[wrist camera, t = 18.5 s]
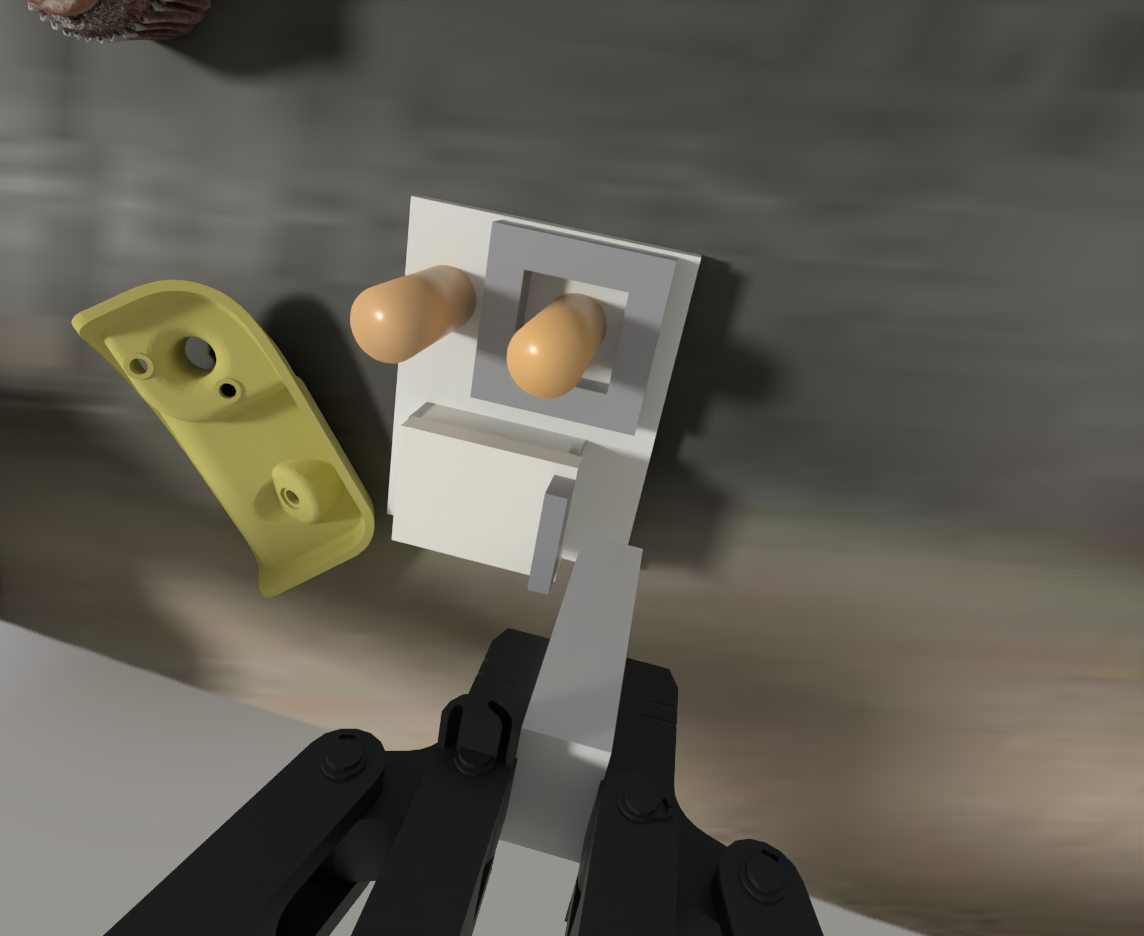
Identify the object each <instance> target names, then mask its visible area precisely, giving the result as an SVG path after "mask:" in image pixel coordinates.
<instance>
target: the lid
mask: <svg viewBox="0 0 1144 936" xmlns="http://www.w3.org/2000/svg"><path fill="white" fill-rule="evenodd" d="M582 458H583V457H580V456H576V455H572V454H568V453H564V452H560V451H556V450H551V449H547V448H543V447H539V446H535V445H531V444H527V443H522V442H518V441H514V440H510V439H506V438H502V437H497V436H493V435H489V434H485V433H481V432H477V431H473V430H468V429H464V428H460V427H456V426H452V425H448V424H444V423H439V422H435V421H431V420H427V419H423V418H419V417H414V416H412V417H410V418H409V419H408V420H407V421H405V422H404V423H403V424H402V425H401V430H400V442H399V455H398V467H397V479H396V492H395V504H394V516H393V528H392V540H394V541H398V542H402V543H406V544H410V545H414V546H418V547H422V548H426V549H429V550H433V551H437V552H441V553H445V554H449V555H453V556H457V557H460V558H464V559H468V560H472V561H476V562H480V563H484V564H488V565H491V566H495V567H499V568H503V569H507V570H511V571H515V572H519V573H523V574H526V575H530V576H529V581H528V586H527V590H530V591H534V592H538V593H542V594H546V595H548V594H549V591H550V589H551V586H552V583H553V581H554V582H555V579H556V576H557V574H558V571H559V568H560V564H561V559H562V554H563V549H564V545H565V540H566V535H567V530H568V525H569V521H570V516H571V511H572V506H573V501H574V497H575V492H576V487H577V482H578V478H579V473H580V468H581V463H582Z"/></svg>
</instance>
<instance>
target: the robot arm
mask: <svg viewBox="0 0 1144 936" xmlns="http://www.w3.org/2000/svg"><path fill="white" fill-rule="evenodd" d="M642 552H643V549H641V548H637V547H633V546H629V545H625V544H622V543H618V542H614V541H610V540H606V539H602V538H598V537H594V536H590V535H586V534H584V537H583V540H582V543H581V546H580V549H579V552H578V555H577V559H576V562H575V565H574V568H573V571H572V574H571V577H570V580H569V583H568V586H567V589H566V592H565V595H564V599H563V602H562V605H561V608H560V611H559V614H558V617H557V620H556V623H555V626H554V629H553V632H552V635H551V639H548V638H544V637H540V636H536V635H533V634H529V633H525V632H521V631H517V630H514V629H510V628H508V629H507V630H505V631H504V632H503V633H501V634H500V635H499V636H498V637H496V638H495V639H494V640H493V641H492V643H491V645H490V647H489V649H488V652H487V654H486V656H485V659H484V661H483V663H482V665H481V667H480V669H479V672H478V675H477V676H476V678H475V681H474V683H473V685H472V687H471V689H470V692H469V694H464V695H461V696H459V697H457V698H455V699H454V700H452V701H450V702H449V703H448V705H447V706H446V707H445V708H444V710H443V711H442V714H441V722H440V729H439V737H438V743H436V744H434V745H432V746H430V747H427V748H423V749H420V750H411V751H385V750H384V748H383V745H382V743H381V741H379V740H378V739H377V738H376V737H375V736H373V735H372V734H371V733H368V732H365V731H362V730H359V729H339V730H335V731H332V732H329V733H325V734H324V735H322V736H321V737H319V738H318V739H316V740H315V741H313V742H312V743H311V744H310V745H309V746H307V747H306V748H305V749H304V750H303V751H302V752H301V753H300V754H299V755H298V756H297V757H295V758H294V759H293V760H292V761H291V762H290V763H289V764H288V765H287V766H286V767H285V768H284V769H283V770H281V771H280V772H279V773H278V774H277V775H276V776H275V777H274V778H273V779H272V780H271V781H270V782H268V783H267V784H266V785H265V786H264V787H263V788H262V789H261V790H260V791H259V792H258V793H257V794H256V795H254V796H253V797H252V798H251V799H250V800H249V801H248V802H247V803H246V804H245V805H244V806H243V807H242V808H241V809H239V810H238V811H237V812H236V813H235V814H234V815H233V816H232V817H231V818H230V819H229V820H227V821H226V822H225V823H224V824H223V825H222V826H221V827H220V828H219V829H218V830H217V831H216V832H214V833H213V834H212V835H211V836H210V837H209V838H208V839H207V840H206V841H205V842H204V843H203V844H201V845H200V846H199V847H198V848H197V849H196V850H195V851H194V852H193V853H192V854H191V855H190V856H189V857H188V858H186V860H184V861H183V862H182V863H181V864H180V865H179V866H178V867H177V868H176V869H175V870H173V871H172V872H171V873H170V874H169V875H168V876H167V877H166V878H165V879H164V880H163V881H162V882H161V883H159V884H158V885H157V886H156V887H155V888H154V889H153V890H152V891H151V892H150V893H149V894H148V895H146V896H145V897H144V898H143V899H142V900H141V901H140V902H139V903H138V904H137V905H136V906H135V907H134V908H132V909H131V910H130V911H129V912H128V913H127V914H126V915H125V916H124V917H123V918H122V919H121V920H119V921H118V922H117V923H116V924H115V925H114V926H113V927H112V928H111V929H110V930H109V931H108V932H107V933H105V934H104V935H103V936H329V935H330V934H331V933H332V931H333V930H334V929H335V927H336V926H337V925H338V923H339V922H340V921H341V919H342V918H343V917H344V916H345V914H346V913H347V912H348V910H349V909H350V907H351V906H352V905H353V904H354V903H355V901H356V900H357V899H358V897H359V896H360V895H361V893H362V892H363V891H364V889H365V888H366V887H367V885H368V884H369V882H370V881H376V882H375V885H374V886H373V889H372V891H371V893H370V895H369V897H368V899H367V902H366V904H365V906H364V908H363V910H362V913H361V915H360V917H359V919H358V921H357V924H356V926H355V928H354V930H353V932H352V935H351V936H472V933H473V930H474V926H475V923H476V920H477V917H478V913H479V910H480V906H481V903H482V900H483V897H484V893H485V890H486V886H487V883H488V880H489V876H490V873H491V870H492V864H493V860H494V855H495V850H496V847H497V844H498V841H499V839H500V840H503V841H507V842H510V843H513V844H517V845H521V846H524V847H527V848H531V849H534V850H537V851H541V852H544V853H548V854H551V855H554V856H558V857H561V858H565V859H568V860H572V861H575V862H579V863H580V866H579V872H578V876H577V880H576V884H575V887H574V890H573V894H572V897H571V901H570V904H569V907H568V911H567V914H566V918H565V921H566V922H567V927H566V932H565V936H823V933H822V930H821V927H820V925H819V922H818V920H817V917H816V914H815V911H814V909H813V906H812V904H811V901H810V898H809V895H808V893H807V890H806V887H805V885H804V882H803V880H802V878H801V876H800V875H799V873H798V871H797V869H796V867H795V866H794V865H793V864H792V862H791V861H790V860H789V859H788V858H787V857H786V856H785V855H784V854H783V853H782V852H780V851H779V850H777V849H775V848H774V847H772V846H770V845H769V844H767V843H765V842H761V841H757V840H753V839H745V840H738V841H735V842H733V843H732V844H731V845H729V846H728V847H727V846H725V845H723V844H722V843H720V842H719V841H717V840H715V839H714V838H712V837H710V836H709V835H707V834H705V833H704V832H703V831H701V830H700V829H699V828H697V827H696V826H695V825H694V824H693V823H692V822H691V821H690V820H689V819H688V818H687V817H686V816H685V814H684V813H683V811H682V810H681V808H680V806H679V804H678V802H677V799H676V796H675V790H674V773H675V750H676V724H677V703H678V687H677V685H676V683H675V681H674V678H673V676H672V674H671V672H670V670H669V669H667V668H663V667H659V666H656V665H652V664H648V663H644V662H640V661H637V660H633V659H629V658H626V655H627V649H628V642H629V636H630V629H631V623H632V616H633V610H634V603H635V597H636V590H637V584H638V577H639V571H640V565H641V558H642Z"/></svg>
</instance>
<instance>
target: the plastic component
mask: <svg viewBox="0 0 1144 936" xmlns="http://www.w3.org/2000/svg"><path fill="white" fill-rule="evenodd" d="M72 325H73V327H74V328H75V330H76V331H77V332H78V334H79V335H80V337H81V338H83V339H84V340H85V341H86V342H87V343H89V344H90V345H91V346H92V347H93V348H95V349H96V350H97V351H98V352H99V353H100V354H101V355H102V356H103V357H104V358H106V359H107V360H108V361H109V362H110V363H111V364H112V365H113V366H114V367H115V368H116V369H117V370H118V371H119V372H120V374H121V375H122V376H123V377H124V378H125V379H126V380H127V381H128V382H129V383H130V384H131V386H132V387H133V388H134V389H135V390H136V391H137V392H138V393H139V394H140V396H141V397H142V398H143V399H144V400H145V401H146V403H147V404H148V405H149V406H150V407H151V408H152V410H153V411H154V412H155V413H156V415H157V416H158V417H159V418H160V420H161V421H162V422H163V423H164V425H165V426H166V427H167V429H168V430H169V431H170V433H171V434H172V435H173V436H174V438H175V439H176V441H177V442H178V443H179V445H180V446H181V447H182V449H183V450H184V451H185V453H186V454H187V456H188V457H189V458H190V460H191V461H192V463H193V464H194V466H195V467H196V469H197V470H198V472H199V473H200V475H201V476H202V477H203V479H204V480H205V482H206V483H207V485H208V486H209V488H210V489H211V491H212V492H213V493H214V495H215V496H216V498H217V499H218V501H219V502H220V504H221V505H222V507H223V508H224V509H225V511H226V512H227V514H228V515H229V517H230V518H231V520H232V521H233V523H234V524H235V525H236V527H237V528H238V530H239V531H240V533H241V534H242V536H243V537H244V539H245V540H246V542H247V543H248V545H249V547H250V548H251V550H252V552H253V554H254V556H255V559H256V561H257V564H258V567H259V575H258V590H259V592H260V593H261V594H262V596H263V597H264V598H271V597H274V596H277V595H279V594H281V593H283V592H285V591H287V590H289V589H291V588H293V587H295V586H297V585H299V584H301V583H303V582H305V581H307V580H309V579H311V578H313V577H315V576H317V575H319V574H321V573H323V572H325V571H327V570H329V569H331V568H333V567H335V566H337V565H339V564H341V563H343V562H345V561H347V560H349V559H351V558H353V557H355V556H357V555H358V554H360V553H361V552H362V551H364V549H365V548H366V547H367V546H368V544H369V543H370V541H371V539H372V537H373V533H374V505H373V502H372V499H371V497H370V496H369V494H368V492H367V490H366V489H365V487H364V485H363V484H362V482H361V480H360V478H359V477H358V475H357V473H356V472H355V470H354V468H353V466H352V465H351V463H350V461H349V459H348V458H347V456H346V454H345V453H344V451H343V449H342V447H341V446H340V444H339V442H338V441H337V439H336V437H335V435H334V434H333V432H332V430H331V429H330V427H329V425H328V423H327V422H326V420H325V418H324V417H323V415H322V413H321V411H320V410H319V408H318V406H317V404H316V403H315V401H314V399H313V398H312V396H311V394H310V392H309V391H308V389H307V387H306V386H305V384H304V382H303V381H302V379H301V378H299V377H297V376H296V375H295V374H294V372H293V370H292V369H291V367H290V365H289V364H288V362H287V360H286V359H285V357H284V356H283V354H282V353H281V351H280V350H279V348H278V347H277V346H276V344H275V343H274V341H273V340H272V339H271V338H270V337H269V336H268V334H267V333H266V332H265V331H264V330H263V329H262V327H261V326H260V325H259V324H258V323H257V322H256V320H255V319H254V318H253V317H252V316H251V315H250V314H249V313H248V312H247V311H246V310H245V309H244V308H243V307H242V306H240V305H239V304H238V303H237V302H235V301H234V300H233V299H231V298H230V297H229V296H227V295H225V294H224V293H222V292H220V291H218V290H217V289H214V288H212V287H210V286H207V285H204V284H200V283H196V282H191V281H184V280H163V281H155V282H152V283H148V284H144V285H141V286H138V287H135V288H133V289H131V290H128V291H126V292H124V293H121V294H119V295H117V296H115V297H113V298H111V299H108V300H106V301H104V302H102V303H100V304H97V305H95V306H93V307H91V308H88V309H86V310H84V311H81V312H80V313H78V314H77V315H75V316H74V318H73V320H72ZM189 337H197V338H201V339H203V340H204V341H206V342H207V343H209V344H210V346H211V347H212V348H213V350H214V351H215V354H216V359H217V360H216V365H215V368H214V369H203V368H199V367H197V366H196V365H194V364H193V363H192V362H191V361H190V360H189V359H188V358H187V355H186V352H185V346H186V341H187V340H188V338H189ZM137 358H140V359H142V360H144V361H145V362H146V363H147V365H148V371H147V372H146V371H145V370H144V368H143V367H142V365H141V364H140V362H139V361H138V360H137ZM225 383H227V384H231V385H233V386H234V387H235V389H236V394H235V396H232V397H228V396H225V395H224V394H223V393H222V391H221V387H222V384H225ZM294 493H295V494H296V495H295V494H294Z"/></svg>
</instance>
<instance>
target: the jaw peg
mask: <svg viewBox="0 0 1144 936" xmlns="http://www.w3.org/2000/svg"><path fill="white" fill-rule="evenodd" d="M606 328H607V325H606V318H605V315H604V312H603V310H602V309H601V307H600V306H599V304H598V303H597V302H596V301H595V300H593V299H592V298H590V297H589V296H586V295H584V294H580V293H568V294H564V295H562V296H559V297H558V298H556V299H555V300H554V301H553V302H551V303H550V304H549V305H548V306H547V307H545V308H544V309H543V310H542V311H541V312H540V313H538V314H537V315H536V316H535V317H534V318H532V319H531V320H530V321H529V322H528V323H526V324H525V325H524V326H523V327H522V328H521V329H519V330H518V331H517V332H516V333H515V334H514V336H513V337H512V339H511V341H510V343H509V346H508V350H507V365H508V369H509V372H510V374H511V376H512V378H513V380H514V381H515V383H516V384H517V385H518V386H519V387H520V388H521V389H522V390H524V391H525V392H526V393H528V394H530V395H532V396H535V397H538V398H544V399H551V398H557V397H560V396H563V395H565V394H567V393H568V392H570V391H571V390H572V389H573V388H574V387H575V386H576V385H577V384H578V382H579V380H580V379H581V377H582V375H583V374H584V372H585V370H586V369H587V367H588V365H589V364H590V362H591V360H592V359H593V357H594V355H595V354H596V352H597V350H598V348H599V347H600V345H601V343H602V342H603V340H604V337H605V334H606Z"/></svg>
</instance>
